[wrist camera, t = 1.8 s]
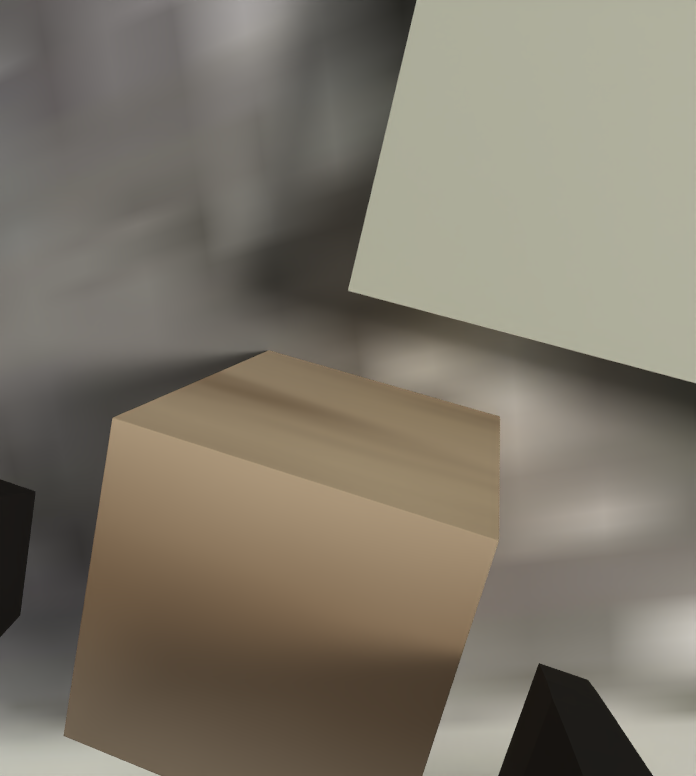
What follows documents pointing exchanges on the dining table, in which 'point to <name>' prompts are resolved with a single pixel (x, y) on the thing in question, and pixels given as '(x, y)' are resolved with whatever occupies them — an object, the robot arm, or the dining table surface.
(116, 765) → the dining table surface
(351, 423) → the maple block
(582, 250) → the sage slab
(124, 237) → the dining table surface
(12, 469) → the dining table surface
